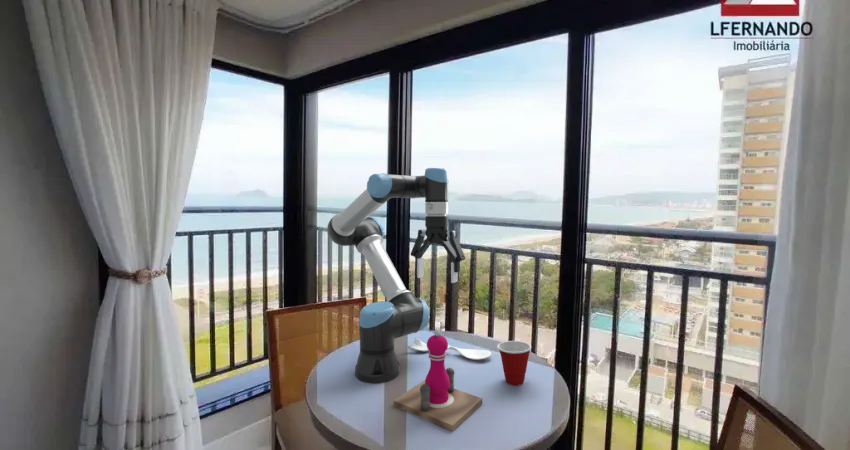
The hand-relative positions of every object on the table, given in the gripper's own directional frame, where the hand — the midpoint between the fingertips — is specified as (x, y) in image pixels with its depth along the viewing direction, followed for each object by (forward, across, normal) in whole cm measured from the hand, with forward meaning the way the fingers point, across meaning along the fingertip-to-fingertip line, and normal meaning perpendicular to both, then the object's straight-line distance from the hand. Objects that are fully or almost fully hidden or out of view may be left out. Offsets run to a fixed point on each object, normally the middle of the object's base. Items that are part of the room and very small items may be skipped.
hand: (436, 279), depth 119 cm
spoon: (+33, -7, +18) cm, 38 cm away
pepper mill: (+31, +10, -14) cm, 36 cm away
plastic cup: (+33, +22, +12) cm, 41 cm away
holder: (+33, +10, -14) cm, 37 cm away
